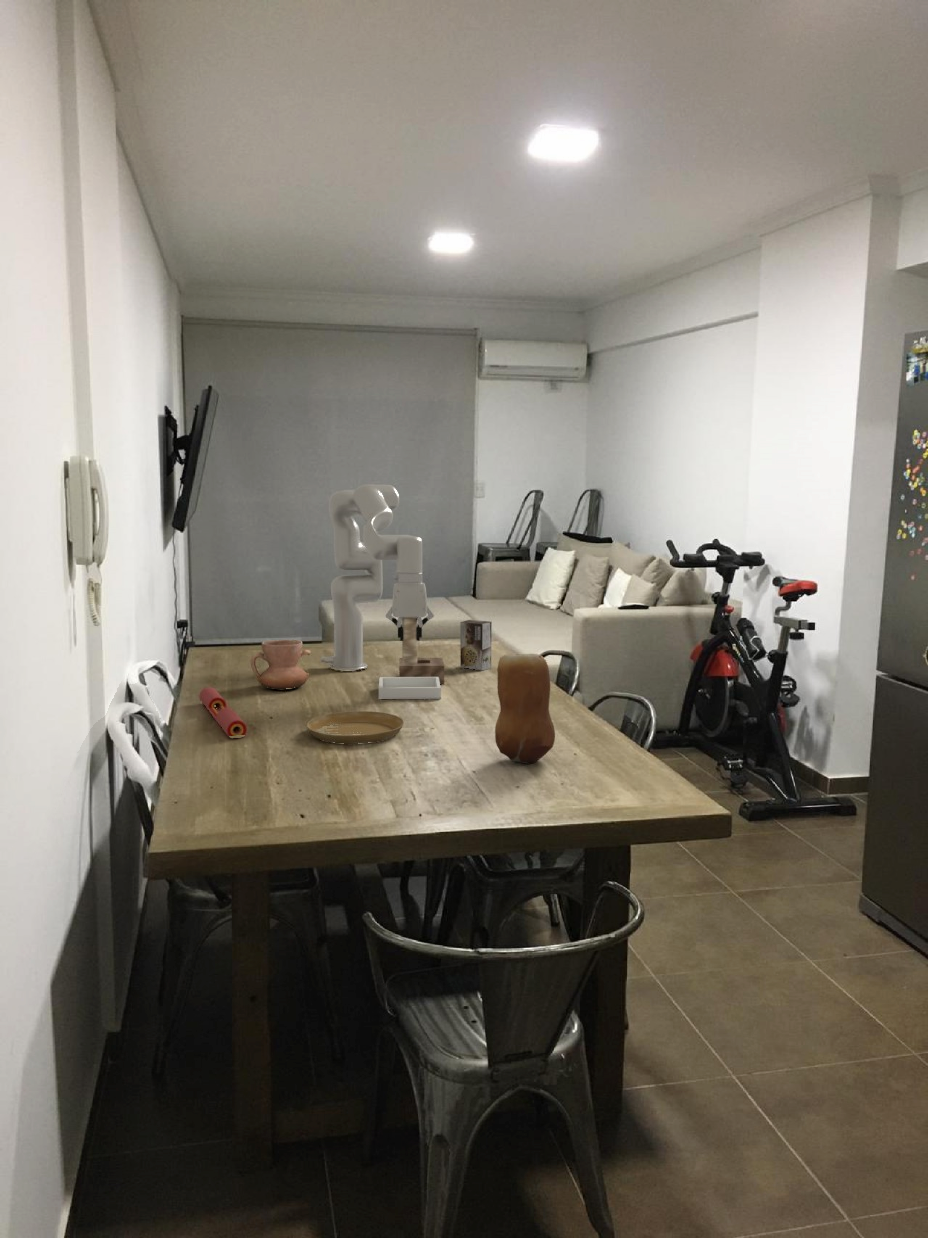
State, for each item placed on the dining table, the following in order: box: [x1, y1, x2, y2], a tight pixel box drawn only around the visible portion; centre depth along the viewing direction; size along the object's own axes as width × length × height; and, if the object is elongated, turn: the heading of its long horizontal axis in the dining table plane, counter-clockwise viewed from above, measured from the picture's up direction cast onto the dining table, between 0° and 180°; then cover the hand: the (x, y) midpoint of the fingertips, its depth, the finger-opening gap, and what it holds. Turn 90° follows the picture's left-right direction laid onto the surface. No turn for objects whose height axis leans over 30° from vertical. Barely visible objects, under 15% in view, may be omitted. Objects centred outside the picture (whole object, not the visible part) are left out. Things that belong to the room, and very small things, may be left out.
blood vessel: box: [199, 686, 248, 737], centre depth 255 cm, size 42×5×5 cm, turn 24°
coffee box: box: [459, 619, 493, 671], centre depth 328 cm, size 9×6×16 cm
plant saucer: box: [306, 710, 405, 745], centre depth 242 cm, size 24×24×3 cm
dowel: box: [401, 618, 418, 665], centre depth 286 cm, size 4×4×15 cm
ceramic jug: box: [250, 639, 311, 690], centre depth 295 cm, size 18×14×14 cm
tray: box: [378, 676, 442, 701], centre depth 288 cm, size 18×16×4 cm
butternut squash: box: [494, 652, 556, 765], centre depth 217 cm, size 14×13×25 cm
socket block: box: [398, 657, 445, 685], centre depth 308 cm, size 14×14×6 cm
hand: (409, 639), depth 286 cm, fingers closed on dowel, 4 cm apart
